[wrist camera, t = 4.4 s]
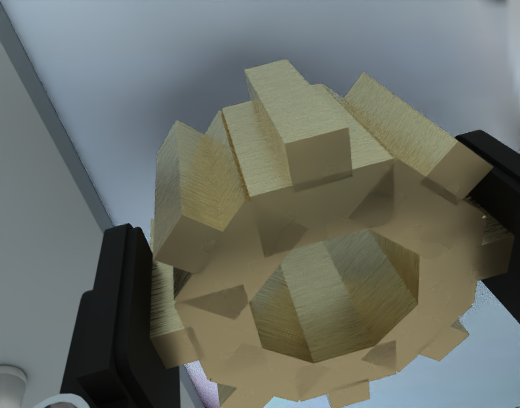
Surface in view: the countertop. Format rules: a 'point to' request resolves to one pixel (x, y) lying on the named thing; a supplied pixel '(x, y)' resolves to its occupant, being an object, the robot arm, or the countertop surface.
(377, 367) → the brass gear
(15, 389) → the gear board
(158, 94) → the countertop surface
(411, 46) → the countertop surface
